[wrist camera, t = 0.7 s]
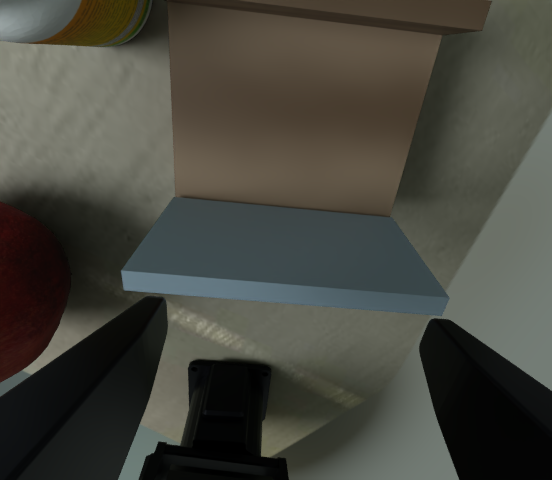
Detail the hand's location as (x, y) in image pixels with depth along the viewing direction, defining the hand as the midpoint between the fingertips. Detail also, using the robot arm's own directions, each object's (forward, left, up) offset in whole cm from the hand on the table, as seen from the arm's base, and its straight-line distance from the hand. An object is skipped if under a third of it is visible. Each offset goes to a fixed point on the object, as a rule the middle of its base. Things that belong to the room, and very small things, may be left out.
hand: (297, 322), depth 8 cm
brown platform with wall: (+3, 0, -13) cm, 13 cm away
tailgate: (-2, 0, -10) cm, 10 cm away
